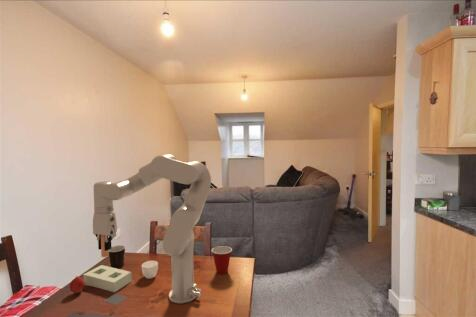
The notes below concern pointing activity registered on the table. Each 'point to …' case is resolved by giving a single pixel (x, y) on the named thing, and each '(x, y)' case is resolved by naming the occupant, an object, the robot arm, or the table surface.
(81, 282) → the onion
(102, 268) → the socket block
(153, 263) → the cup
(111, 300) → the mat
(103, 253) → the peg
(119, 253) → the coffee mug
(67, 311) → the table surface
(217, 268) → the plastic cup
